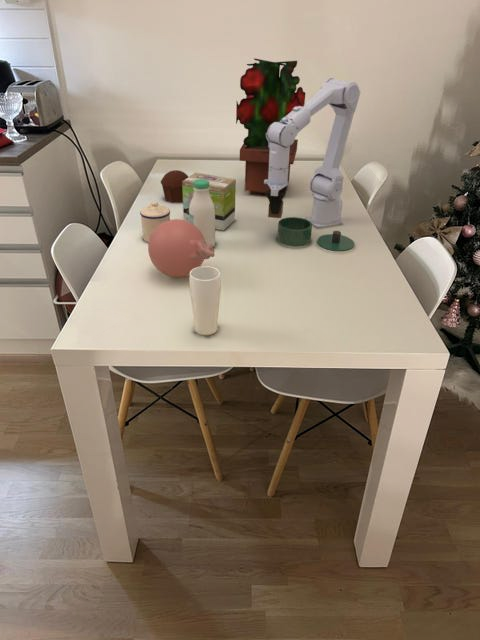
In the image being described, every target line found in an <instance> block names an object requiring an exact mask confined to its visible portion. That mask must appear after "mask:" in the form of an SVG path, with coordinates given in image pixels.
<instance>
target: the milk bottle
mask: <svg viewBox="0 0 480 640" xmlns="http://www.w3.org/2000/svg"><path fill="white" fill-rule="evenodd" d="M193 187H194V188H193V189H194V195H193V198H192V200H191V203H190V207H189V222H190V223H192V224H193V225H195V226H196V227H197V228H198V229H199V230H200V231H201V233H202V235H203V237H204V239H205V242H206V244H212V245H213V247H212V248H214V247H215V245H216V229H215V209H214V204H213V202H212V200H211V197H210V195H209V181H208V180H205V179H197V180H194V181H193Z"/></svg>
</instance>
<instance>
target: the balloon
mask: <svg viewBox="0 0 480 640" xmlns="http://www.w3.org/2000/svg"><path fill="white" fill-rule="evenodd" d="M147 249H148V250H147V251H148V256H149V259H150V261H151V263H152V265H153V266H154V267H155V268H156V270H157V271H159V272H160V273H162V274H164V275H165V276H168V277H172V278H185V277H187V276H190V271H191V270H192V269H194V268H196V267H200V266H203V264H204V261H205V260H208V259H210V258H211V257H212V258H213V257H215V248H214V247H213V245H212V244H206V242H205V239H204V237H203V235H202V233H201V231H200V230H199V229H198V228H197V227H196V226H195V225H193V224H192V223H190V222H188V221H185V220H184V219H181V218H176V219H175V218H174V219H170V220H168V221H165V222H163V223H162V224H160V225H159V226H158V227H157V228H156V229H155V230H154V231H153V233H152V234H151V237H150V239H149V242H148V246H147Z"/></svg>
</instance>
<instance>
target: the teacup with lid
mask: <svg viewBox="0 0 480 640" xmlns="http://www.w3.org/2000/svg"><path fill="white" fill-rule="evenodd" d="M170 214H171V210H170V208H168V207H167V206H166V205H162V204H159V203H158V201H152V202H150V204H149V205H146V206H144V207H142V208H141V209H140V212H139V215H140V218H141V226H142V227H141V229H142V238H143V240H144V241H145V242H147V243H149V239H150V237H151V234H152V233H153V231H154V230H155V229H156V228H157V227H158V226H159V225H160V224H162V223H163V222H165V221H168V220H171V215H170Z"/></svg>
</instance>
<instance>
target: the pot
mask: <svg viewBox="0 0 480 640" xmlns="http://www.w3.org/2000/svg"><path fill="white" fill-rule="evenodd" d="M312 231H313V223H312V222H310V221H309V220H308V219H306V218H303V217H299V216H298V217H296V216H290V217H289V216H288V217H284V218H280V219H279V221H278V223H277V237H276V240H277V241H278V243H280V244H282V245H284V246H288V247H297V248H298V247H304V246H307V245H309V244H311V239H312Z"/></svg>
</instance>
